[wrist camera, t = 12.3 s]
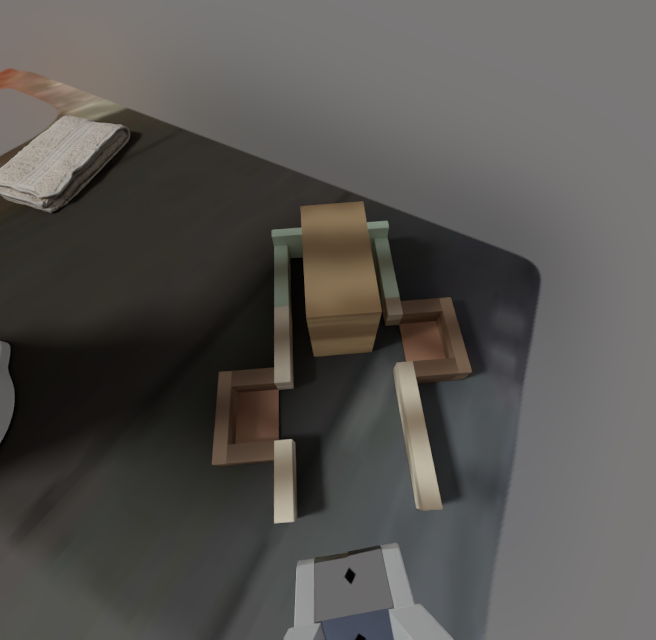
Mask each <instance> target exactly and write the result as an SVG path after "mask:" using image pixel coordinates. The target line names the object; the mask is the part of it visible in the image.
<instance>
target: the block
mask: <svg viewBox="0 0 656 640" xmlns="http://www.w3.org/2000/svg"><path fill="white" fill-rule="evenodd" d="M301 225H302V245H303V265H304V285H305V305H306V320H307V325H308V329H309V334H310V339H311V344H312V349H313V354H314V357H318V356H330V355H343V354H355V353H367V352H372V349H373V345H374V341H375V337H376V333H377V329H378V325H379V321H380V317H381V314H382V309H381V303H380V297H379V291H378V286H377V280H376V274H375V268H374V262H373V256H372V251H371V245H370V239H369V233H368V227H367V221H366V215H365V210H364V204H363V201H361V202H349V203H336V204H323V205H311V206H301Z"/></svg>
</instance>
